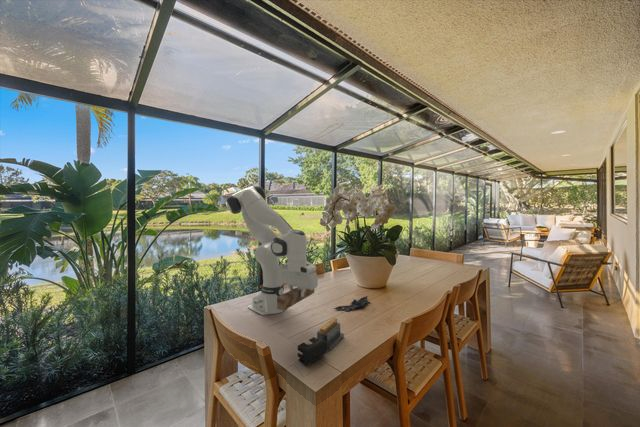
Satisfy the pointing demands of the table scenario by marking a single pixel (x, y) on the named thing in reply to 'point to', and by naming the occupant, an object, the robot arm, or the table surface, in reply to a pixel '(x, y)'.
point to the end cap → (311, 350)
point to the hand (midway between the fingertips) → (297, 295)
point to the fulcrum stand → (330, 333)
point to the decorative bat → (354, 304)
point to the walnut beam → (292, 298)
